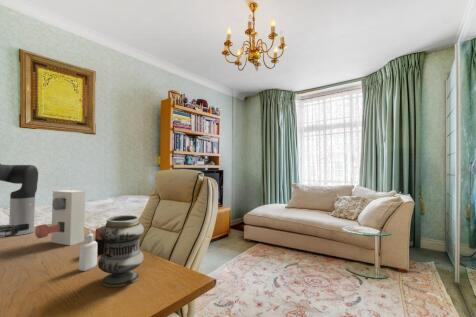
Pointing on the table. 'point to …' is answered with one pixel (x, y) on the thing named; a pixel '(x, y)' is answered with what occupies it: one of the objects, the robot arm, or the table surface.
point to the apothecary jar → (121, 250)
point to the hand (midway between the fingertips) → (27, 226)
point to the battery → (99, 241)
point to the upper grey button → (58, 203)
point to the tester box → (69, 217)
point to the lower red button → (45, 230)
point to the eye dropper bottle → (88, 253)
